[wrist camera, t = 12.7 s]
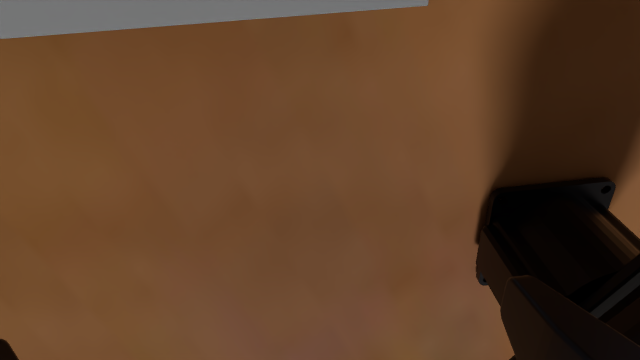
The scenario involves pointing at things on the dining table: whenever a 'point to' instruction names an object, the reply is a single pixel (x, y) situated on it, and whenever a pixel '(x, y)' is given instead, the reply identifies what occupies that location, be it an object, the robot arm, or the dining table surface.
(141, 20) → the board
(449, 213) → the dining table surface
